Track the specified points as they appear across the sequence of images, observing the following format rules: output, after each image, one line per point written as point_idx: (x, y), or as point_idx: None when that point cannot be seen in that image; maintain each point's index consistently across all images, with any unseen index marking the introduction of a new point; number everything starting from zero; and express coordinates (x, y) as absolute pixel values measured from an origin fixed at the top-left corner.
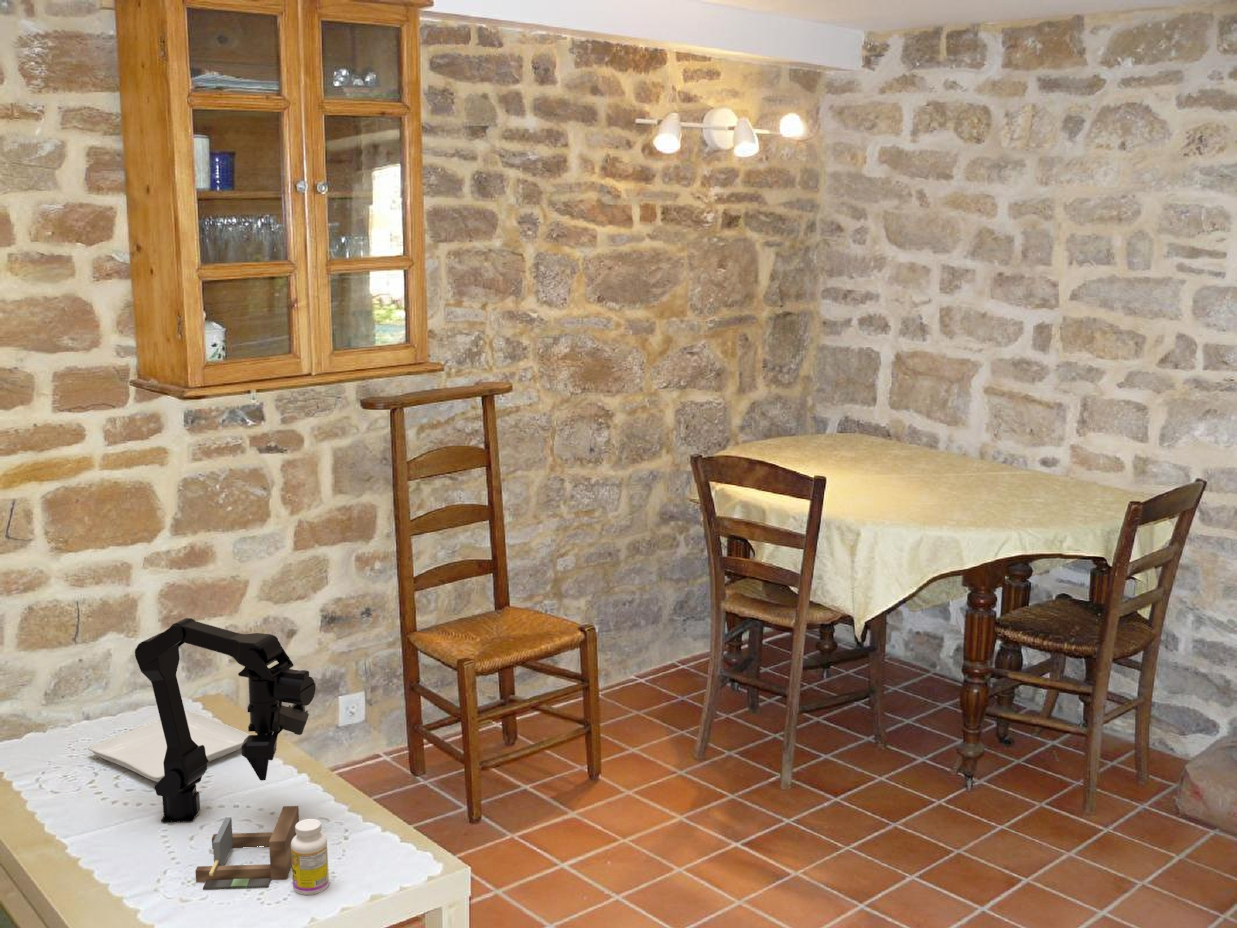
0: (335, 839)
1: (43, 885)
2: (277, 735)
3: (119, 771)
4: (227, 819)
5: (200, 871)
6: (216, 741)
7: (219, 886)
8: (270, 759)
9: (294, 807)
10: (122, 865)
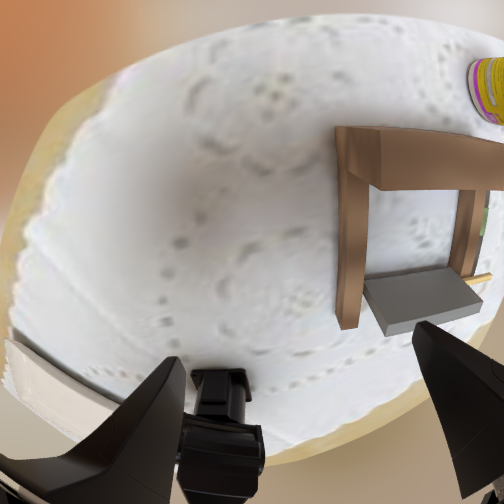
0: (313, 41)
1: (392, 420)
2: (93, 456)
3: None
4: (396, 328)
5: None
6: (32, 370)
7: (478, 252)
8: (181, 365)
9: (392, 144)
10: (373, 391)
